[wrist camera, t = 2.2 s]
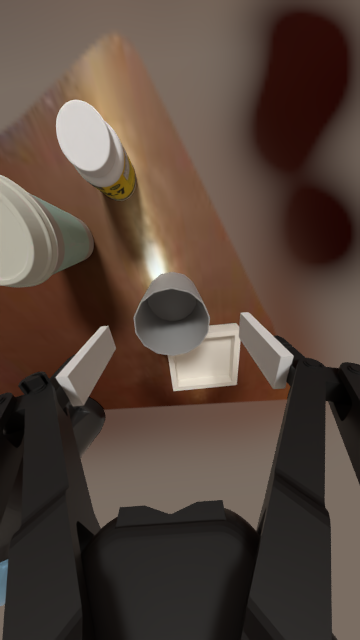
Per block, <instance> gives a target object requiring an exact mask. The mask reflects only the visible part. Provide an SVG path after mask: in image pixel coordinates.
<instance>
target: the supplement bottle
mask: <svg viewBox="0 0 360 640" xmlns="http://www.w3.org/2000/svg"><path fill="white" fill-rule="evenodd" d="M56 132H57V138H58V141H59V144H60V147H61V149H62V151H63V153H64V154H65V156H66V157H67V159H68V160H69V161H70V162H71V163H72V164H73V165H74V166H75V168H76V169H77V171H78V172H79V174H80V175H81V176H82V177H83V178H84V179H85V180H86V181H87V182H89V183H90V184H92V185H93V186H94V187H96V188H97V189H98V190H100V191H101V192H102V193H104V194H105V195H106V196H108V197H109V198H111V199H113V200H116V201H123V200H126V199H128V198H129V197H131V195H132V194H133V192H134V190H135V187H136V174H135V170H134V168H133V165H132V163H131V161H130V159H129V157H128V155H127V153H126V151H125V149H124V147H123V145H122V143H121V141H120V139H119V137H118V136H117V134H116V133H115V131H114V130H113V129H112V127H111V126H110V125H109V124H108V123H107V122H105V121H104V120H103V118H102V117H101V115H100V114H99V113H98V112H97V110H96V109H95V108H93V107H92V106H91V105H89V104H88V103H86V102H84V101H80V100H71V101H69V102H67V103H66V104H64V105H63V106H62V108H61V109H60V111H59V113H58V116H57V120H56Z"/></svg>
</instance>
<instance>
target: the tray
mask: <svg viewBox="0 0 360 640" xmlns="http://www.w3.org/2000/svg"><path fill="white" fill-rule="evenodd" d="M239 351H240V338H239V326H238V325H237V324H236V323H231V324H221V325H212V326H209V331H208V334H207V335H206V337H205V338H204V340H203V341H202V343H201V344H200V345H199V346H198V347H196V348H195V349H193V350H191V351H190V352H188V353H185V354H180V355H175V356H170V355H168V360H169V366H170V372H171V378H172V385H173V391H180V390H190V389H200V388H210V387H220V386H231V385H237V375H238V363H239Z"/></svg>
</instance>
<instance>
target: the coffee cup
mask: <svg viewBox="0 0 360 640" xmlns="http://www.w3.org/2000/svg"><path fill="white" fill-rule="evenodd" d="M93 248H94V240H93V236H92V234H91V232H90V230H89V228H88V227H87V226H86V224H85V223H84V222H82V221H81V220H80V219H78V218H76V217H75V216H73V215H71V214H69V213H67V212H65V211H63V210H61V209H59V208H57V207H55V206H53V205H51V204H49V203H47V202H45V201H43V200H41V199H39V198H37V197H35V196H33V195H31V194H29V193H28V192H26V191H25V190H24V189H22V188H21V187H20V186H19V185H17V184H16V183H14V182H13V181H11V180H10V179H8V178H6V177H4V176H2V175H0V285H3V286H9V287H30V286H35V285H38V284H41V283H43V282H44V281H46V280H47V279H48V278H49V277H50V276H51V275H52V274H55V273H57V272H59V271H61V270H64V269H66V268H68V267H70V266H72V265H75V264H77V263H79V262H81V261H83V260H85V259H87V258H88V257H89V256H90V255H91V254H92V252H93Z"/></svg>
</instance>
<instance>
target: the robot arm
mask: <svg viewBox="0 0 360 640" xmlns="http://www.w3.org/2000/svg"><path fill="white" fill-rule="evenodd" d="M239 338H240V340H241V341H242V343H243V344H244V346H245V347H246V349H247V350H248V352H249V353H250V355H251V356H252V358H253V359H254V361H255V362H256V364H257V365H258V367H259V368H260V370H261V371H262V373H263V374H264V376H265V377H266V379H267V380H268V382H269V383H270V385H271V386H272V388H273V389H281V388H285V386H286V382H287V383H288V384H289V385H290V386H291V387H290V390H289V394H288V397H287V398H288V399H287V404H286V408H285V412H284V416H283V421H282V425H281V430H280V434H279V438H278V443H277V447H276V451H275V456H274V460H273V465H272V468H271V473H270V477H269V481H268V486H267V490H266V494H265V499H264V503H263V507H262V510H261V514H260V518H259V522H258V526H257V531H256V530H255V529H254V528H253V527H252V526H251V525H250V524H249V523H248V522H247V521H246V520H244V519H243V518H242V517H241V516H239V515H238V514H236V513H235V512H233V511H231V510H228V509H226V508H224V506H223V501H222V500H217V501H203V502H196V503H194V504H192V505H190V506H188V507H185V508H183V509H181V510H179V511H177V512H175V513H173V514H167V513H164V512H161V511H159V510H155V509H153V508H150V507H147V506H133V507H120V509H119V514H118V517H116V518H115V519H113V520H112V521H110V522H109V523H107V524H106V525H105V526H104V527H103V528H100V526H99V523H98V521H97V519H96V517H95V514H94V511H93V507H92V503H91V499H90V496H89V492H88V487H87V483H86V479H85V476H84V471H83V468H82V463H81V457H82V455H83V454H84V453H85V451H86V450H87V449H88V447H89V446H90V445H91V443H92V442H93V440H94V439H95V438H96V436H97V435H98V434H99V433H100V431H101V429H102V426H103V423H104V421H105V412H104V410H103V408H102V407H101V406H100V405H99V404H98V403H97V402H96V401H94V400H93V399H91V398H89V395H90V393H91V392H92V390H93V388H94V386H95V384H96V383H97V381H98V379H99V377H100V376H101V374H102V372H103V370H104V369H105V367H106V365H107V363H108V362H109V360H110V358H111V356H112V355H113V353H114V351H115V349H116V347H115V344H114V341H113V338H112V335H111V332H110V329H109V326H101V327H100V328H99V329H98V330H97V331H96V333H95V334H94V335H93V336H92V337H91V338H90V339H89V340H88V341H87V343H86V344H85V345H84V346H83V347H82V348H81V349H80V350H79V352H78V353H77V354H76V355H73V356H72V357H70V358H69V359H67V361H66V362H65V363H64V364H63V365H62V366H61V367H60V369H58V370H57V371H56V372H55V373H54V375H53V376H52V377H51V378H50V379H49V378H48V376H47V375H46V373H45V372H37V373H34V374H32V375H30V376H28V377H26V378H25V379H23V380H22V381H21V382H20V383H19V385H18V386H19V388H20V389H21V390H22V392H23V393H24V394H25V395H22V396H19V397H14V396H13V394H12V393H5V394H2V395H0V606H2V605H5V612H4V627H3V640H337V638H336V637H335V636H334V635H333V633H332V612H331V611H332V609H331V527H330V517H329V513H328V511H327V509H326V508H325V502H324V494H325V489H324V488H325V487H324V486H325V485H324V484H325V401H328V402H329V405H330V408H331V410H332V413H333V415H334V418H335V421H336V423H337V426H338V429H339V431H340V434H341V437H342V439H343V442H344V444H345V447H346V450H347V452H348V455H349V457H350V460H351V463H352V466H353V468H354V471H355V473H356V476H357V479H358V481H359V484H360V365H358V364H355V363H348V362H345V363H342V364H341V365H340V367H339V368H331V367H325V366H324V365H323V364H322V363H320V362H319V361H317V360H314V359H311V358H305V357H304V356H303V355H302V354H301V353H299V352H298V351H297V350H296V349H295V348H294V347H292V345H291V344H289V343H288V342H287V341H286V340H285V339H284V338H282V337H280V336H273V335H272V334H270V333H269V332H268V331H267V330H266V329H265V328H264V327H263V326H262V325H261V324H260V323H259V322H258V321H257V320H256V319H255V318H254V317H253V316H252V315H251V314H250V313H249V312H247V313H241V314H240V326H239Z"/></svg>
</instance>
